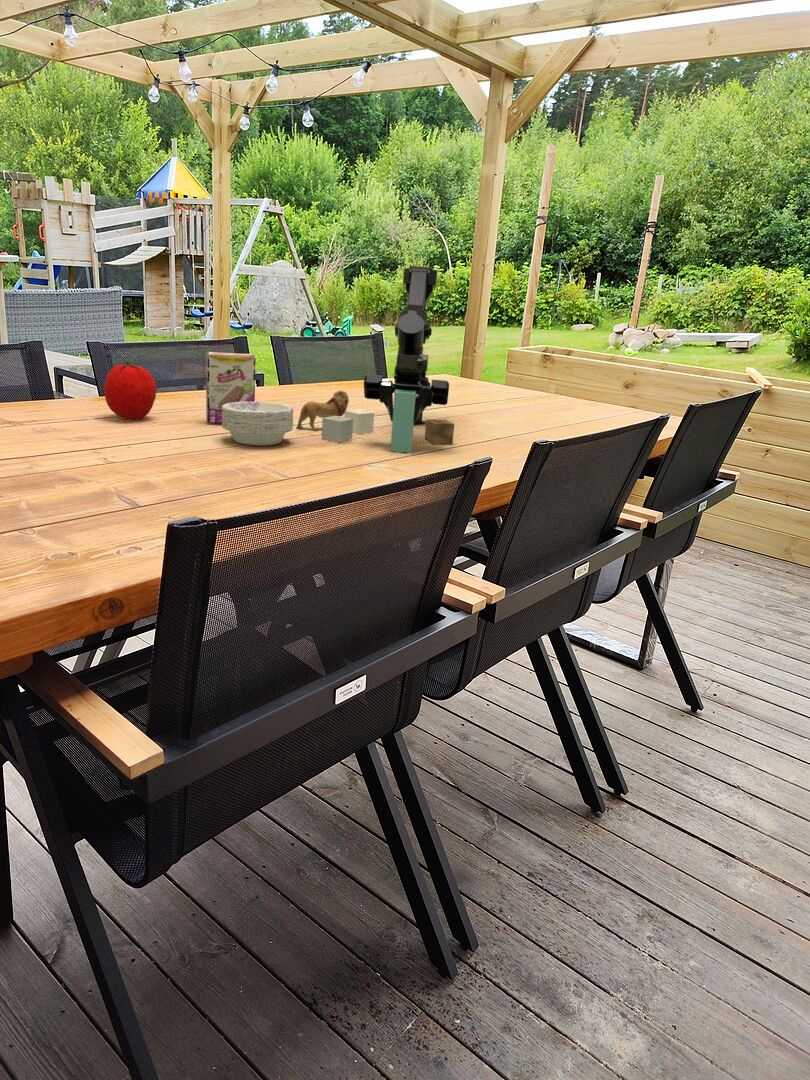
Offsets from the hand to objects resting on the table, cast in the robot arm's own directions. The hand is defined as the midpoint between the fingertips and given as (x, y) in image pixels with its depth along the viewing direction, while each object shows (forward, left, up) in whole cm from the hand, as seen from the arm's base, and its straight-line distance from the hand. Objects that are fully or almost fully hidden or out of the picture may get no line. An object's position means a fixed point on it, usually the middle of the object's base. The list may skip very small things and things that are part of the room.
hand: (403, 421), depth 167 cm
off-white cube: (-3, -21, -7) cm, 22 cm away
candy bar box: (+22, -39, -7) cm, 45 cm away
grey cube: (+7, -15, -7) cm, 18 cm away
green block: (-1, -1, -7) cm, 7 cm away
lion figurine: (+3, -27, -7) cm, 28 cm away
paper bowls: (+25, -19, -7) cm, 32 cm away
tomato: (+42, -50, -7) cm, 66 cm away
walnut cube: (-15, -5, -7) cm, 17 cm away
